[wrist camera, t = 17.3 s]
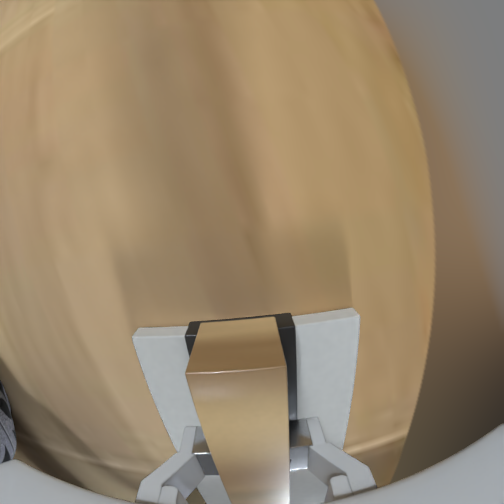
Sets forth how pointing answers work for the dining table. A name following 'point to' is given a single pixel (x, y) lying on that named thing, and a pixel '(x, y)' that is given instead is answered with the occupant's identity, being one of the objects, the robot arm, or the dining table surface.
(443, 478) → the robot arm
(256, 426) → the brush
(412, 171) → the dining table surface
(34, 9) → the dining table surface
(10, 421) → the teapot
